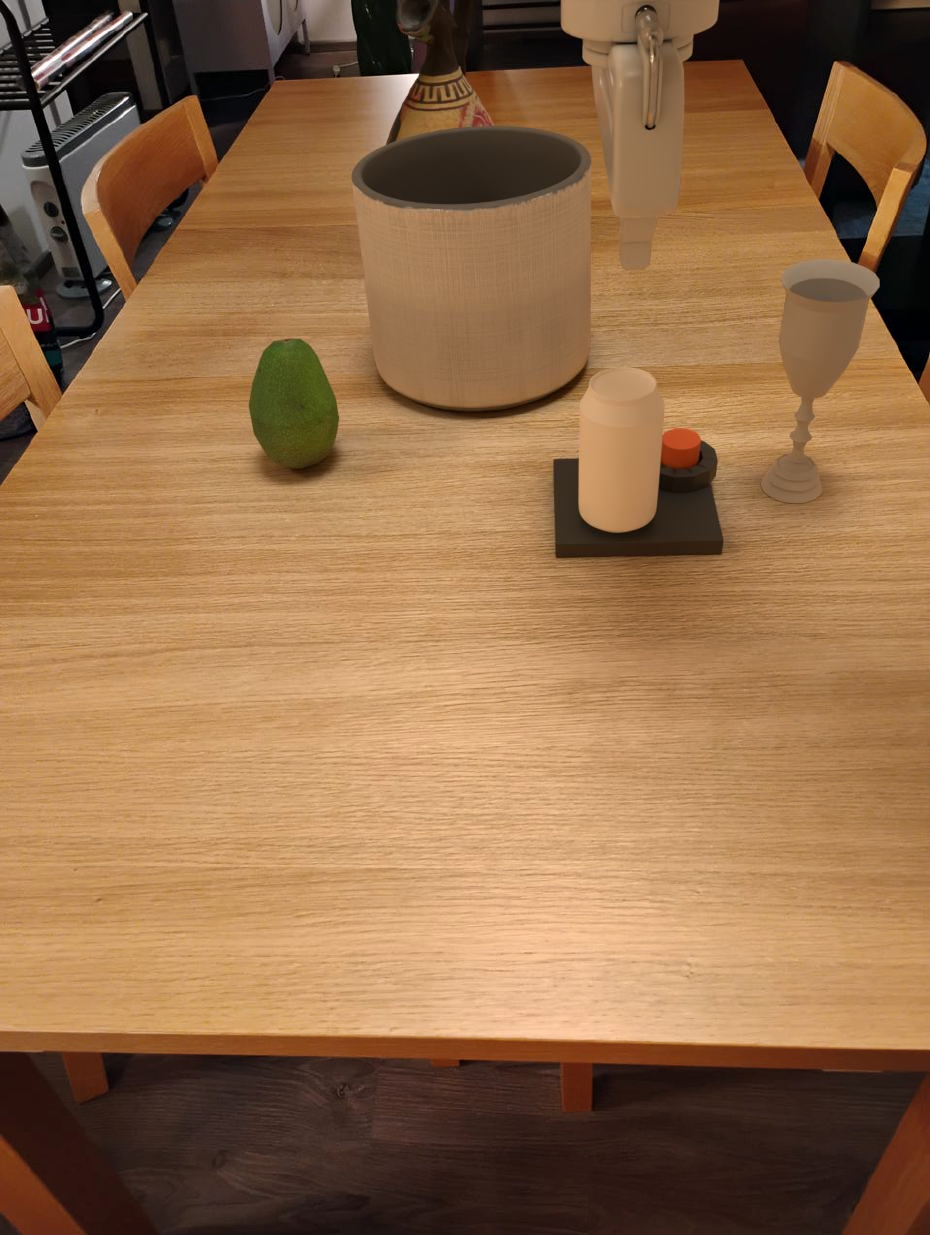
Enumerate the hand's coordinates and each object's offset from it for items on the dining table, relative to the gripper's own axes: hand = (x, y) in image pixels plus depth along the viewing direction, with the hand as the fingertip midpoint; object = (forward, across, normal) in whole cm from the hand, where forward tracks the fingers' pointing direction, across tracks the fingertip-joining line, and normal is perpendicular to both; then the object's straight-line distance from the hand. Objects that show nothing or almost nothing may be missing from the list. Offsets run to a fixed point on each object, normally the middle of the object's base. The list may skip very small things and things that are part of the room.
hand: (628, 235), depth 65 cm
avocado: (+24, +12, +28) cm, 39 cm away
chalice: (+24, +6, -15) cm, 29 cm away
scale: (+24, +2, -2) cm, 24 cm away
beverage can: (+23, 0, 0) cm, 23 cm away
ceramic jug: (+24, +60, +17) cm, 67 cm away
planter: (+24, +28, +12) cm, 39 cm away
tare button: (+21, +6, -6) cm, 23 cm away
